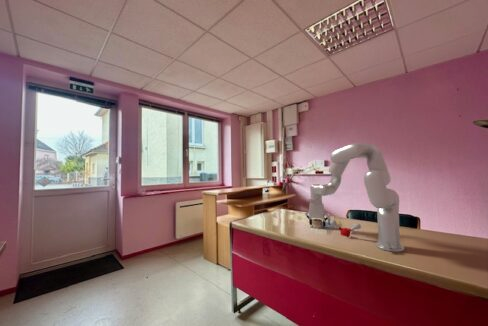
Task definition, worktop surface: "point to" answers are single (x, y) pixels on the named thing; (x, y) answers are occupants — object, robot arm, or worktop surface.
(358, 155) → the robot arm
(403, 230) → the worktop surface
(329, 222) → the needle post
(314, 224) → the bead
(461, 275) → the worktop surface
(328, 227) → the lacing board
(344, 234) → the molecular model
